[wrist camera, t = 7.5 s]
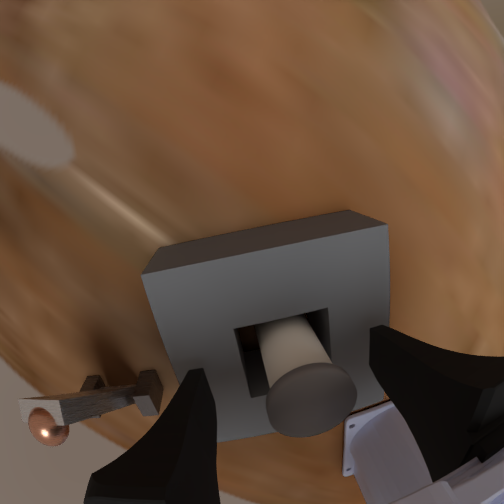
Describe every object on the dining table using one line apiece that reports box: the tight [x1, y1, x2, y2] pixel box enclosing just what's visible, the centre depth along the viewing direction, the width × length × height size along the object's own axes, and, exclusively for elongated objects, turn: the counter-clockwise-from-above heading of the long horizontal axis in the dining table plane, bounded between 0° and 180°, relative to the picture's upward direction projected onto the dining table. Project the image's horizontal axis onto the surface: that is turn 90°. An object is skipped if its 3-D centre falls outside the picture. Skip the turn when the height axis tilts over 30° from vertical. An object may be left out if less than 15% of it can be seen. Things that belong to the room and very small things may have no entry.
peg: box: [254, 314, 357, 437], centre depth 13 cm, size 3×3×8 cm
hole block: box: [141, 210, 390, 442], centre depth 15 cm, size 10×10×4 cm
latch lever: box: [18, 384, 136, 446], centre depth 12 cm, size 9×2×2 cm
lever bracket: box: [79, 370, 164, 418], centre depth 16 cm, size 2×5×2 cm, turn 100°
